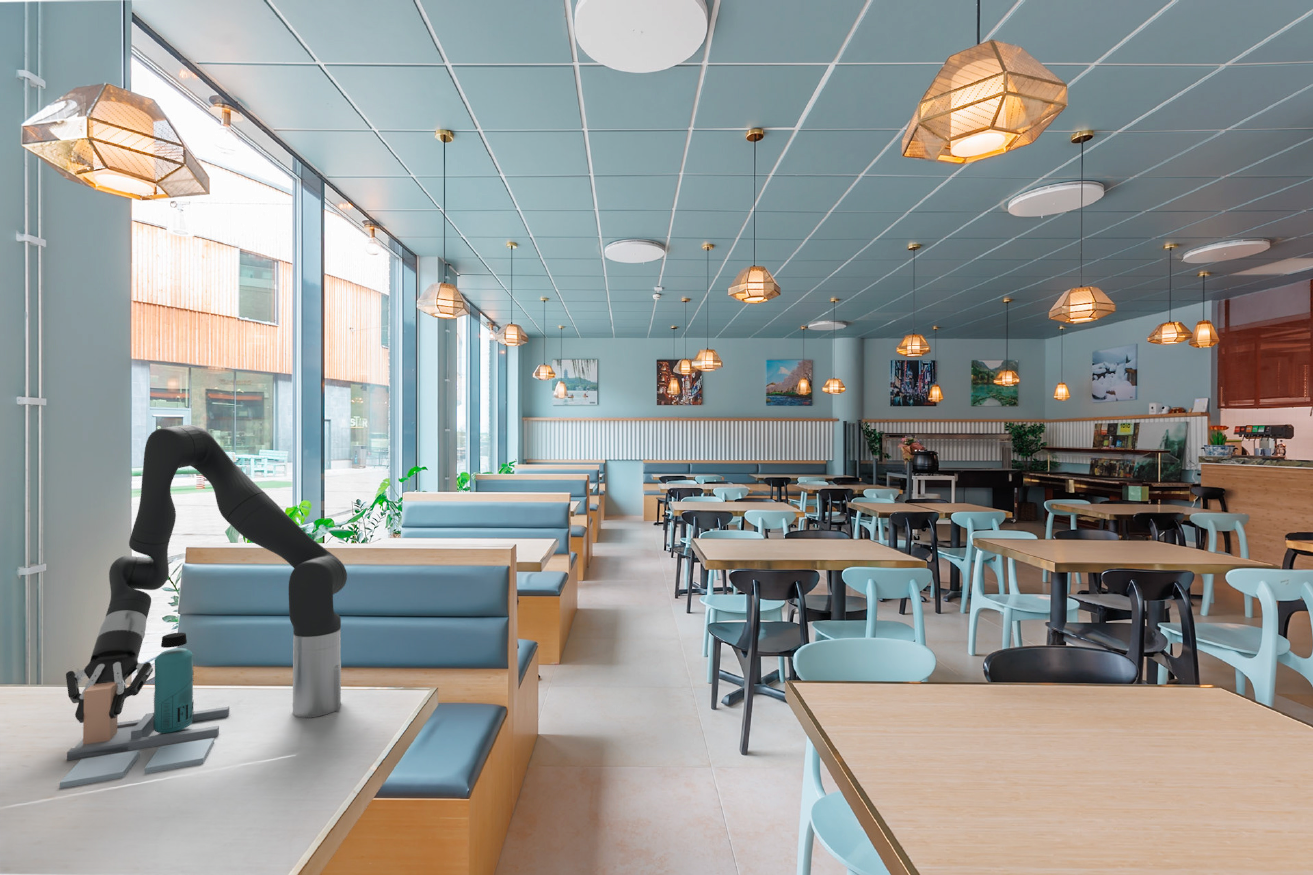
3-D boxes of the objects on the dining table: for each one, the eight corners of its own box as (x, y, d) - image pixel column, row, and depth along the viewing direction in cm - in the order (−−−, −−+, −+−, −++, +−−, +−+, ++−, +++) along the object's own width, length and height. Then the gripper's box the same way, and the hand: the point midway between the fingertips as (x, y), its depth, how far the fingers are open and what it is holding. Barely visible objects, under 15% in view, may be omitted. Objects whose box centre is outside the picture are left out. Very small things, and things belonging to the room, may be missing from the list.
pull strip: (229, 713, 136) (229, 662, 136) (217, 736, 125) (217, 680, 125) (93, 733, 127) (94, 678, 127) (66, 760, 115) (67, 699, 116)
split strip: (214, 743, 122) (214, 737, 122) (203, 764, 114) (203, 757, 114) (81, 765, 114) (81, 758, 114) (59, 789, 106) (59, 782, 106)
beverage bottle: (176, 741, 124) (178, 638, 124) (143, 740, 124) (145, 638, 124) (201, 726, 130) (202, 629, 131) (169, 726, 130) (171, 629, 131)
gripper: (71, 632, 127) (41, 716, 115) (159, 624, 133) (139, 703, 121) (81, 651, 131) (54, 734, 120) (165, 643, 137) (147, 720, 126)
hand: (97, 718), depth 121 cm, fingers closed on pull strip, 4 cm apart
